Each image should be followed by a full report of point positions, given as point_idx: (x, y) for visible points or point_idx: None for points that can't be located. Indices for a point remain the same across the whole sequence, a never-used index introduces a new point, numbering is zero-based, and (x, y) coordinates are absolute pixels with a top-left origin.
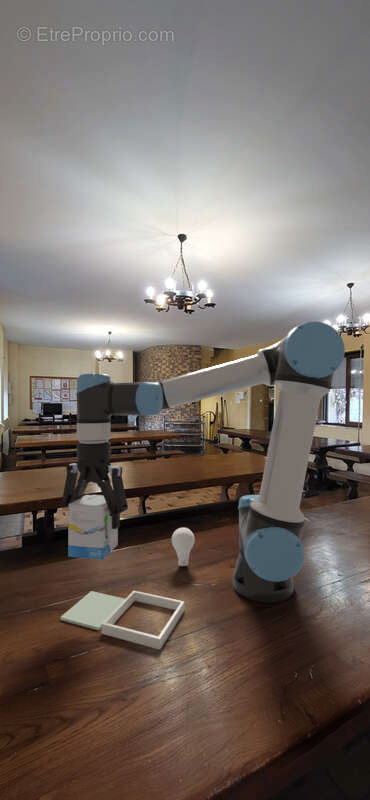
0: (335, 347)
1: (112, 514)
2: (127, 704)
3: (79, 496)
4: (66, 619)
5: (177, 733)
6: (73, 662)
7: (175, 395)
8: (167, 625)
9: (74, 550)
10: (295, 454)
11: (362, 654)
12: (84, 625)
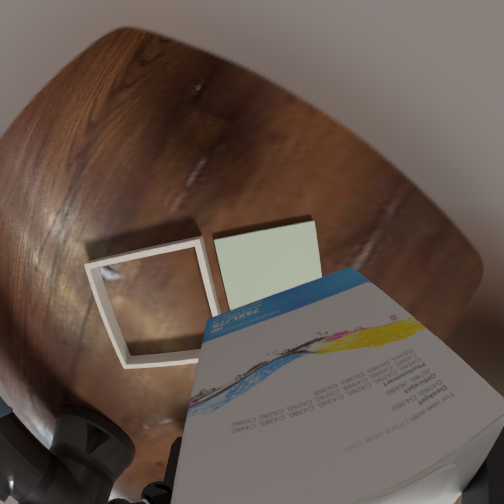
0: None
1: (147, 489)
2: (71, 154)
3: (474, 490)
4: (298, 223)
5: (20, 167)
6: (189, 153)
7: None
8: (97, 300)
9: (332, 285)
10: None
11: None
12: (250, 232)
